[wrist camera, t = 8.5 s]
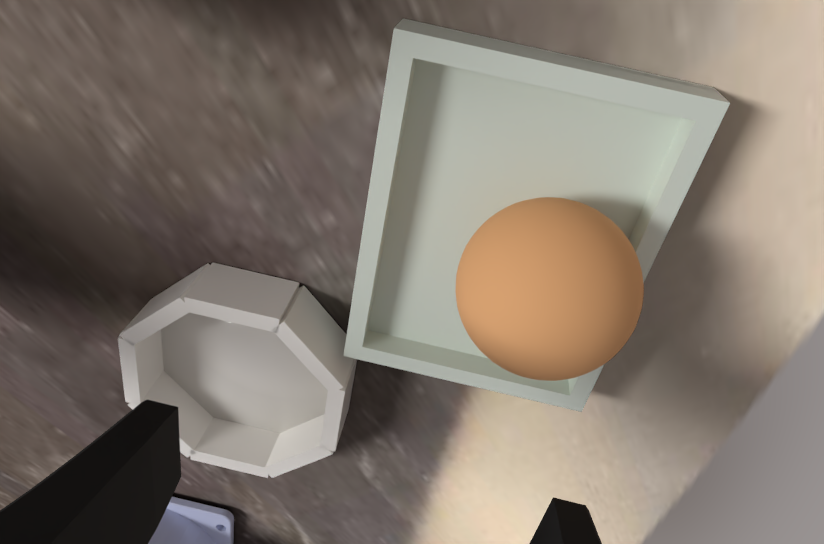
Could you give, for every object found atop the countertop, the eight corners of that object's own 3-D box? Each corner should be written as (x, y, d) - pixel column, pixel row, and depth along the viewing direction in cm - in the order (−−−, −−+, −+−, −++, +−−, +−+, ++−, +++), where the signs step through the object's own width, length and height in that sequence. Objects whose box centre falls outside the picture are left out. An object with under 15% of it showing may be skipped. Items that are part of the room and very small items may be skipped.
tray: (577, 383, 22) (581, 411, 21) (352, 330, 22) (343, 356, 21) (713, 87, 16) (730, 102, 15) (402, 18, 16) (393, 28, 15)
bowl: (341, 449, 26) (328, 492, 24) (157, 405, 26) (130, 445, 24) (367, 298, 21) (353, 336, 19) (145, 246, 21) (110, 279, 19)
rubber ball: (545, 300, 21) (637, 406, 17) (413, 311, 19) (484, 433, 15) (596, 168, 18) (720, 258, 14) (449, 163, 16) (547, 267, 12)
